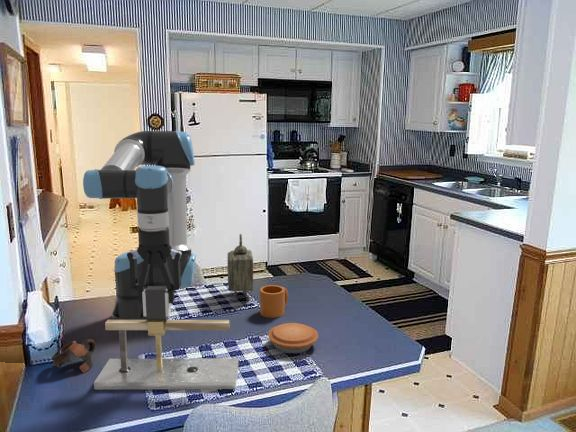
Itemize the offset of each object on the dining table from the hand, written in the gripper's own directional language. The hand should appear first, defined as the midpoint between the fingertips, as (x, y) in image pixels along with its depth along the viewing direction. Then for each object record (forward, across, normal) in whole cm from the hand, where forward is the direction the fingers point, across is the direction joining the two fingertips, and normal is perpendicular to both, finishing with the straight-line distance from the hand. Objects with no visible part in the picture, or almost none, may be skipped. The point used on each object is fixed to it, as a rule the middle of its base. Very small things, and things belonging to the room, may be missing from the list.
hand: (157, 314), depth 121 cm
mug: (+18, +32, +43) cm, 56 cm away
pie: (+18, +37, +18) cm, 45 cm away
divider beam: (+16, +3, 0) cm, 16 cm away
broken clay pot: (+18, -24, +6) cm, 31 cm away
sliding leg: (+16, 0, 0) cm, 16 cm away
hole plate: (+18, +3, 0) cm, 18 cm away
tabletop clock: (+18, +17, +58) cm, 63 cm away
